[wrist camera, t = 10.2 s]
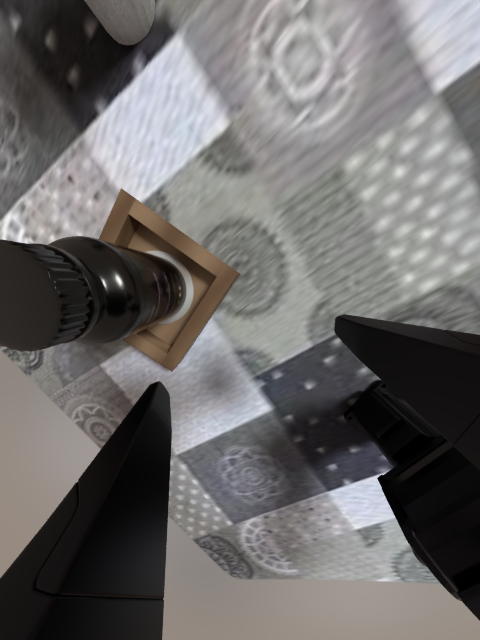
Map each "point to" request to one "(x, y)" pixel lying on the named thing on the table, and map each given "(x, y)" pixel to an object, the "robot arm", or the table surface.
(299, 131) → the table surface
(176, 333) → the holder
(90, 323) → the supplement bottle
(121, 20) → the house plant
